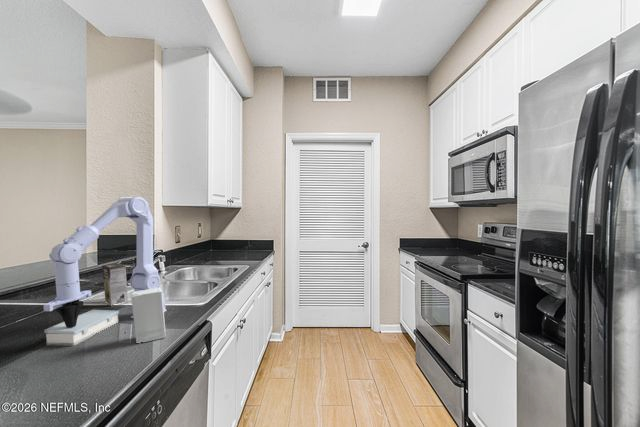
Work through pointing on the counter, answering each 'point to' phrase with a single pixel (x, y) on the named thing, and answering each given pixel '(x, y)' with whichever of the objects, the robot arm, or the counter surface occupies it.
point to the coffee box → (115, 283)
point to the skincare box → (148, 315)
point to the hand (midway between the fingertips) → (71, 326)
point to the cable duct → (80, 333)
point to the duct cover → (82, 322)
